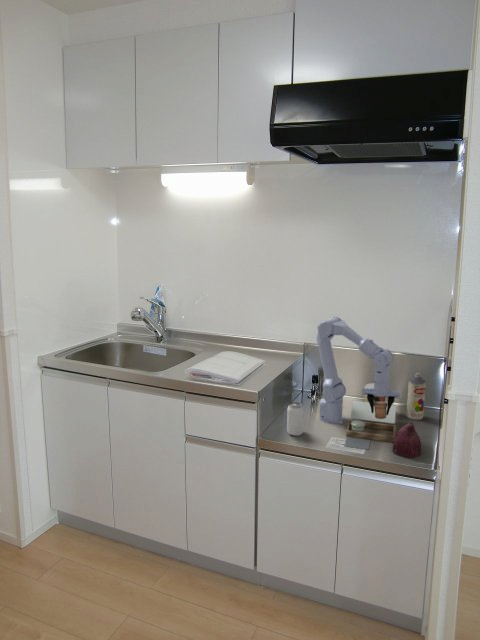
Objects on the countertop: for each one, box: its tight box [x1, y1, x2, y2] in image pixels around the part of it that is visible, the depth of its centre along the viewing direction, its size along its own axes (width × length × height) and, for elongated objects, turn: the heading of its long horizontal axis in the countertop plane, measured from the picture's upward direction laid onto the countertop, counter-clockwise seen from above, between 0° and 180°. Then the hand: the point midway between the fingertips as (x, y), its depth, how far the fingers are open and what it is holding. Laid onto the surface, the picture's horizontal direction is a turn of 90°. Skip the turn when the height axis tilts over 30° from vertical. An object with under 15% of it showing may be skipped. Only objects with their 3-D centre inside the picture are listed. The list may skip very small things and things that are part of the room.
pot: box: [374, 401, 388, 419], centre depth 198 cm, size 5×5×6 cm
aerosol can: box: [406, 372, 427, 421], centre depth 212 cm, size 7×7×20 cm
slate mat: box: [344, 436, 371, 451], centre depth 191 cm, size 9×8×1 cm
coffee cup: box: [363, 382, 386, 402], centre depth 219 cm, size 9×9×12 cm
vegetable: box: [392, 421, 422, 459], centre depth 182 cm, size 10×10×15 cm
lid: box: [350, 400, 397, 425], centre depth 208 cm, size 18×10×1 cm, turn 71°
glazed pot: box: [351, 420, 365, 432], centre depth 199 cm, size 5×5×4 cm
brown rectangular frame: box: [345, 419, 397, 443], centre depth 203 cm, size 19×20×5 cm
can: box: [286, 401, 305, 437], centre depth 200 cm, size 6×6×12 cm
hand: (379, 413), depth 198 cm, fingers closed on pot, 5 cm apart
